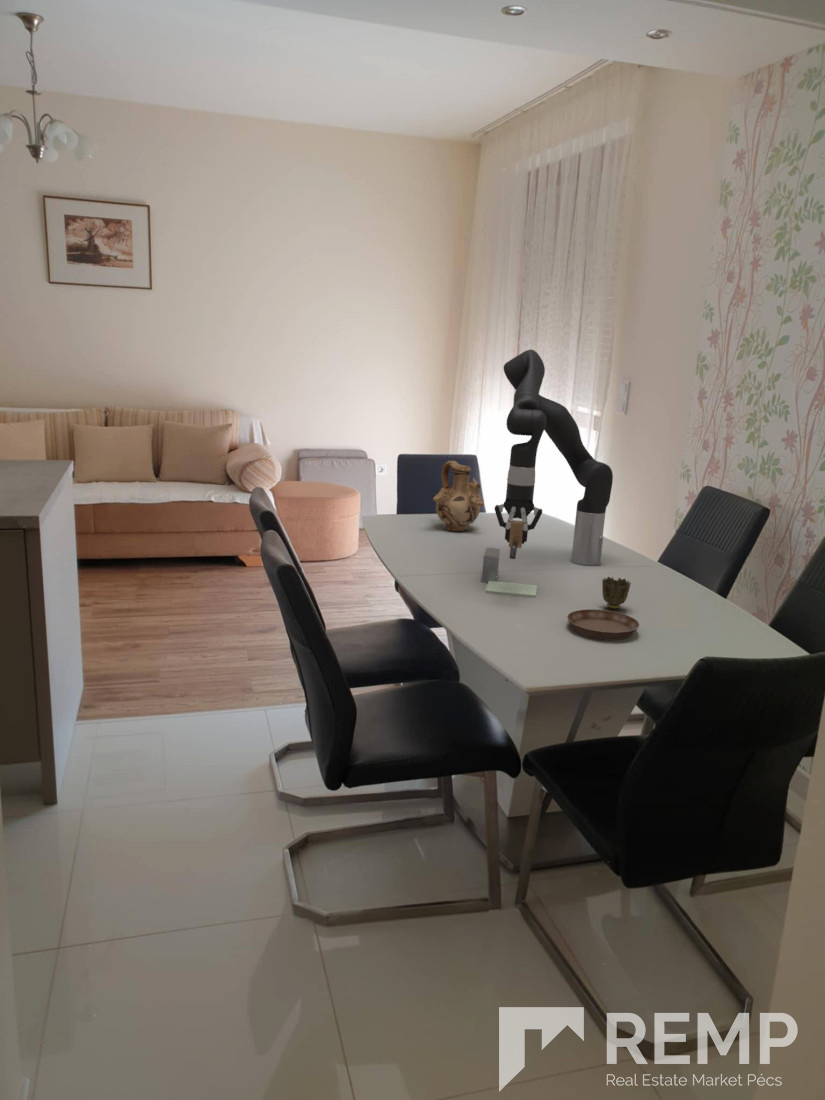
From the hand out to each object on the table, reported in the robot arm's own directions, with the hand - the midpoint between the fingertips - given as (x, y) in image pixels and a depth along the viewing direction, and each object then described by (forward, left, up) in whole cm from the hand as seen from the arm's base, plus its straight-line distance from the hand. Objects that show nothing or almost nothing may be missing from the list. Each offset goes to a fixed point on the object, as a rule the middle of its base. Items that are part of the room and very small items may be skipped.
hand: (515, 542), depth 236 cm
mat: (0, 0, -14) cm, 14 cm away
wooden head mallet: (0, +7, -1) cm, 7 cm away
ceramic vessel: (+24, -70, -14) cm, 75 cm away
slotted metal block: (+7, -10, -14) cm, 19 cm away
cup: (-28, +8, -14) cm, 32 cm away
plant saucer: (-24, +27, -15) cm, 39 cm away
